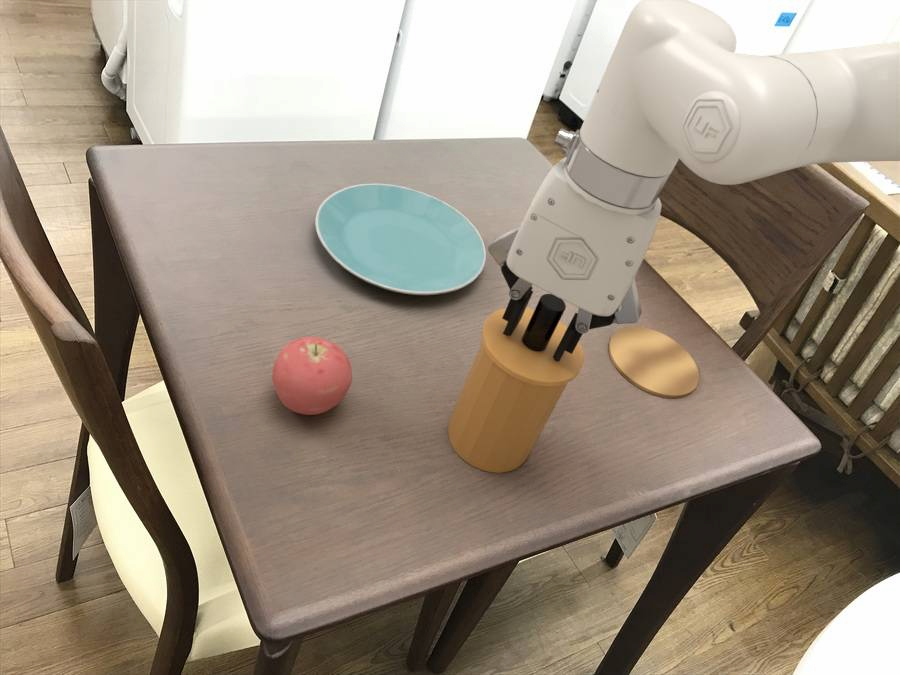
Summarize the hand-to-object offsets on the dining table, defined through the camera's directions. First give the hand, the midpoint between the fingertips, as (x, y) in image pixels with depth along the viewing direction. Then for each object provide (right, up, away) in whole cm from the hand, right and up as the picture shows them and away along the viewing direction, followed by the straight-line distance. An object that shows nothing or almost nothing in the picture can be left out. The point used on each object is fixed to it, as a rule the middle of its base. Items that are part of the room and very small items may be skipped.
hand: (536, 338), depth 70 cm
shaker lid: (0, -1, +1) cm, 1 cm away
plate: (-15, +11, +29) cm, 34 cm away
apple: (-22, -7, +7) cm, 24 cm away
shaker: (-4, -10, +10) cm, 15 cm away
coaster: (+18, -3, +26) cm, 32 cm away
